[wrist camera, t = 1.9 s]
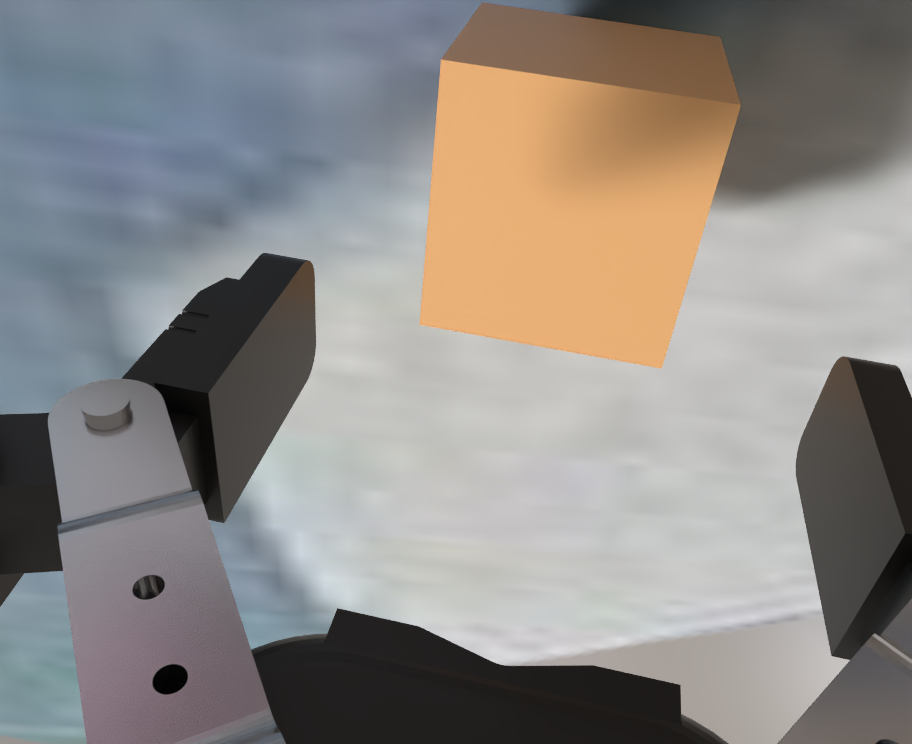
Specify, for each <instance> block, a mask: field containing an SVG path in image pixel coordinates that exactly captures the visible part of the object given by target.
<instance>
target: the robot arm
mask: <svg viewBox="0 0 912 744" xmlns="http://www.w3.org/2000/svg"><path fill="white" fill-rule="evenodd" d="M315 349H316V325H315V277H314V268H313V265H312V263H311V262H310V261H308V260H302V259H297V258H291V257H285V256H280V255H274V254H268V253H263V254H261V255H260V256H259V257H258V258H257V260H256V261H255V262H254V263H253V264H252V266H251V267H250V268H249V269H248V270H247V271H246V273H245V274H244V275H243V276H242V277H241V279H240V280H237V279H232V278H225V279H223V280H221V281H219V282H217V283H215V284H213V285H211V286H209V287H207V288H205V289H203V290H201V291H200V292H198V294H197V295H196V296H195V297H194V298H193V299H192V300H191V301H190V303H189V304H188V305H187V306H186V307H185V308H184V309H183V312H182V314H179V315H178V316H177V317H176V318H175V319H174V320H173V322H172V323H171V324H170V325H169V329H168V330H166V329H165V330H164V332H163V333H162V334H161V335H160V336H159V337H158V338H157V339H156V341H155V342H154V343H153V344H152V345H151V346H150V347H149V348H148V349H147V351H146V352H145V353H144V354H143V355H142V356H141V357H140V358H139V360H138V361H137V362H136V363H135V364H134V365H133V366H132V367H131V368H130V370H129V371H128V372H127V373H126V374H125V375H124V376H123V377H122V379H107V380H100V381H96V382H92V383H88V384H86V385H83V386H80V387H78V388H76V389H74V390H72V391H70V392H69V393H67V394H65V395H64V396H63V397H62V398H60V399H59V400H58V401H57V402H56V403H55V405H54V406H53V407H52V409H51V411H50V413H39V414H5V415H0V606H1V605H2V604H3V602H4V601H5V599H6V598H7V597H8V595H9V594H10V592H11V591H12V590H13V588H14V587H15V585H16V584H17V583H18V581H19V580H20V578H21V577H22V576H23V574H24V573H34V572H50V571H63V574H64V581H65V588H66V595H67V602H68V610H69V617H70V624H71V631H72V638H73V646H74V653H75V660H76V667H77V674H78V682H79V689H80V696H81V703H82V710H83V718H84V725H85V732H86V739H87V744H728V743H727V742H726V741H724V740H723V739H722V738H720V737H719V736H718V735H716V734H715V733H714V732H712V731H710V730H709V729H707V728H705V727H704V726H702V725H701V724H699V723H697V722H696V721H694V720H692V719H690V718H688V717H686V716H684V715H682V714H681V694H680V685H678V684H674V683H669V682H665V681H660V680H656V679H651V678H647V677H642V676H638V675H633V674H629V673H624V672H620V671H615V670H611V669H606V668H602V667H597V666H504V665H499V664H496V663H494V662H491V661H489V660H487V659H485V658H483V657H481V656H479V655H477V654H475V653H473V652H471V651H469V650H466V649H464V648H462V647H460V646H458V645H456V644H454V643H452V642H450V641H448V640H446V639H444V638H441V637H439V636H437V635H435V634H433V633H431V632H429V631H427V630H425V629H423V628H421V627H418V626H414V625H409V624H405V623H400V622H396V621H391V620H387V619H382V618H378V617H373V616H369V615H365V614H360V613H356V612H351V611H347V610H342V609H338V608H337V611H336V613H335V616H334V619H333V621H332V624H331V626H330V629H329V631H328V634H311V635H303V636H295V637H291V638H287V639H282V640H278V641H274V642H271V643H268V644H266V645H263V646H260V647H257V648H254V649H252V650H251V648H250V645H249V642H248V639H247V636H246V633H245V630H244V627H243V624H242V621H241V618H240V615H239V612H238V609H237V605H236V602H235V599H234V596H233V593H232V590H231V587H230V584H229V581H228V578H227V575H226V572H225V569H224V566H223V562H222V559H221V556H220V553H219V550H218V547H217V544H216V541H215V538H214V535H213V532H212V529H211V526H210V523H209V520H213V521H217V522H222V523H224V522H225V521H226V519H227V517H228V516H229V514H230V512H231V510H232V509H233V507H234V505H235V504H236V502H237V500H238V498H239V497H240V495H241V493H242V492H243V490H244V488H245V486H246V485H247V483H248V481H249V480H250V478H251V476H252V474H253V473H254V471H255V469H256V468H257V466H258V464H259V462H260V461H261V459H262V457H263V456H264V454H265V452H266V450H267V449H268V447H269V445H270V444H271V442H272V440H273V438H274V437H275V435H276V433H277V432H278V430H279V428H280V426H281V425H282V423H283V421H284V420H285V418H286V416H287V414H288V413H289V411H290V409H291V408H292V406H293V404H294V402H295V401H296V399H297V397H298V396H299V394H300V392H301V390H302V389H303V387H304V385H305V384H306V382H307V380H308V378H309V375H310V373H311V370H312V366H313V362H314V357H315ZM796 477H797V483H798V488H799V493H800V498H801V503H802V508H803V513H804V518H805V523H806V528H807V533H808V539H809V544H810V549H811V554H812V559H813V564H814V569H815V574H816V579H817V584H818V589H819V594H820V600H821V605H822V610H823V615H824V619H825V625H826V630H827V635H828V640H829V645H830V650H831V655H832V656H835V657H839V658H843V659H848V660H850V661H849V662H848V664H847V665H846V666H845V667H844V668H843V669H842V670H841V672H840V673H839V674H838V675H837V676H836V677H835V678H834V680H833V681H832V682H831V683H830V684H829V685H828V687H826V689H825V690H824V691H823V692H822V693H821V694H820V695H819V697H818V698H817V699H816V700H815V702H813V703H812V705H811V706H810V707H809V708H808V709H807V710H806V712H805V713H804V714H803V715H802V716H801V717H800V719H799V720H798V721H797V722H796V723H795V724H794V725H793V726H792V728H791V729H790V730H789V731H788V732H787V733H786V734H785V736H784V737H783V738H782V739H781V740H780V741H779V742H778V744H912V397H911V395H910V392H909V390H908V387H907V385H906V383H905V380H904V378H903V375H902V373H901V371H900V369H899V368H898V367H897V366H895V365H889V364H884V363H878V362H872V361H867V360H861V359H856V358H850V357H841V358H839V359H838V360H837V361H836V363H835V364H834V366H833V368H832V370H831V372H830V374H829V376H828V378H827V381H826V383H825V385H824V387H823V390H822V392H821V394H820V396H819V399H818V401H817V403H816V405H815V408H814V410H813V412H812V414H811V417H810V419H809V421H808V423H807V426H806V428H805V430H804V432H803V435H802V437H801V440H800V444H799V447H798V452H797V459H796Z"/></svg>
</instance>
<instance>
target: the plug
mask: <svg viewBox="0 0 912 744" xmlns="http://www.w3.org/2000/svg"><path fill="white" fill-rule="evenodd" d="M740 107H741V103H740V99H739V96H738V93H737V90H736V86H735V83H734V80H733V77H732V73H731V70H730V67H729V64H728V60H727V57H726V54H725V51H724V47H723V44H722V41H721V38H720V37H718V36H711V35H704V34H697V33H690V32H683V31H676V30H669V29H662V28H655V27H648V26H641V25H634V24H628V23H621V22H614V21H607V20H600V19H593V18H586V17H579V16H572V15H565V14H558V13H551V12H544V11H537V10H530V9H523V8H516V7H509V6H503V5H496V4H489V3H481V5H480V6H479V8H478V9H477V10H476V12H475V13H474V15H473V16H472V17H471V19H470V20H469V22H468V23H467V24H466V26H465V27H464V28H463V30H462V31H461V33H460V34H459V35H458V37H457V38H456V40H455V41H454V42H453V44H452V45H451V47H450V48H449V49H448V51H447V52H446V54H445V55H444V56H443V58H442V59H441V68H440V80H439V93H438V105H437V117H436V130H435V142H434V154H433V167H432V179H431V191H430V204H429V216H428V228H427V241H426V253H425V265H424V278H423V290H422V302H421V315H420V325H424V326H430V327H435V328H441V329H446V330H452V331H457V332H463V333H469V334H474V335H480V336H485V337H491V338H496V339H502V340H507V341H513V342H518V343H524V344H529V345H535V346H540V347H546V348H551V349H557V350H562V351H568V352H573V353H579V354H585V355H590V356H596V357H601V358H607V359H612V360H618V361H623V362H629V363H634V364H640V365H645V366H651V367H656V368H662V366H663V362H664V359H665V356H666V352H667V349H668V346H669V342H670V339H671V336H672V333H673V329H674V326H675V323H676V319H677V316H678V313H679V309H680V306H681V303H682V299H683V296H684V293H685V289H686V286H687V283H688V280H689V276H690V273H691V270H692V266H693V263H694V260H695V256H696V253H697V250H698V246H699V243H700V240H701V237H702V233H703V230H704V227H705V223H706V220H707V217H708V213H709V210H710V207H711V203H712V200H713V197H714V193H715V190H716V187H717V184H718V180H719V177H720V174H721V170H722V167H723V164H724V160H725V157H726V154H727V150H728V147H729V144H730V140H731V137H732V134H733V131H734V127H735V124H736V121H737V117H738V114H739V111H740Z"/></svg>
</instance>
